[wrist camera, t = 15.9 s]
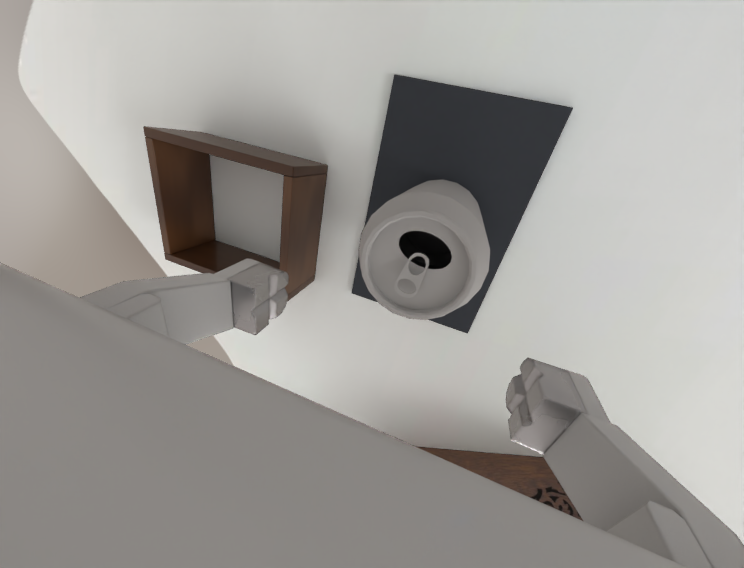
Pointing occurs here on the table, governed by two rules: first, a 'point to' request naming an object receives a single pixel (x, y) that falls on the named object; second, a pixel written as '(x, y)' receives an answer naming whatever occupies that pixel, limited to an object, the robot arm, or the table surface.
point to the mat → (465, 159)
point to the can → (425, 251)
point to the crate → (195, 207)
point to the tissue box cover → (514, 475)
